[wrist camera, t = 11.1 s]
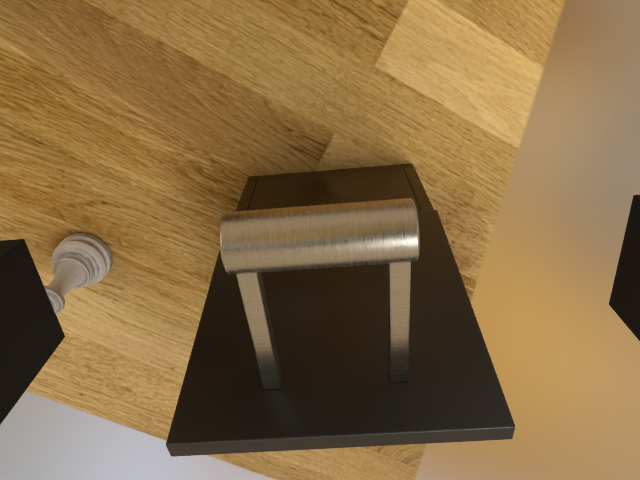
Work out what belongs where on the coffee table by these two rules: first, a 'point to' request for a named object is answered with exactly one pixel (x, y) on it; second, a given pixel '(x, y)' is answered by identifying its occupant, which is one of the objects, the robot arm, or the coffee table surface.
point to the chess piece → (77, 266)
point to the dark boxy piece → (334, 188)
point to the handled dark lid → (336, 337)
